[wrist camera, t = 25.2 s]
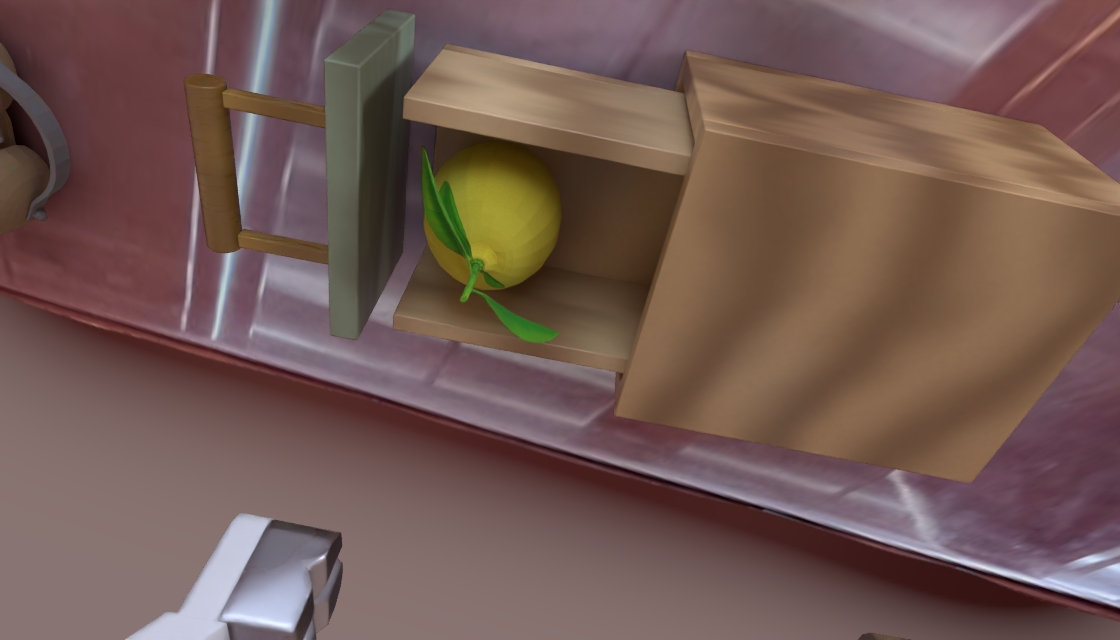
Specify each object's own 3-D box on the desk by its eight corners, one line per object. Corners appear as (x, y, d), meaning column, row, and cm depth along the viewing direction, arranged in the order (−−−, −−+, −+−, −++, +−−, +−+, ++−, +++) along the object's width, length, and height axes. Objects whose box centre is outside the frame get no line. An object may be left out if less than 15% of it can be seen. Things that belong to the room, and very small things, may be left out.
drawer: (267, 226, 35) (193, 310, 29) (247, -22, 28) (145, 21, 22) (660, 303, 36) (666, 400, 30) (732, 80, 29) (759, 148, 23)
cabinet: (617, 294, 37) (614, 416, 29) (685, 49, 29) (704, 128, 22) (902, 350, 38) (971, 483, 30) (1041, 124, 30) (1178, 226, 23)
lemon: (570, 248, 33) (551, 387, 25) (448, 236, 33) (391, 371, 25) (582, 109, 29) (564, 222, 21) (443, 97, 29) (373, 204, 21)
